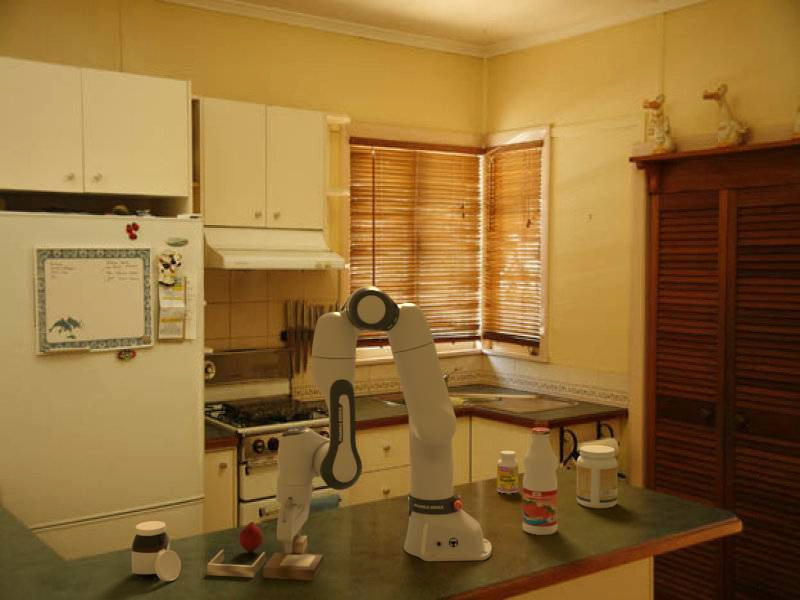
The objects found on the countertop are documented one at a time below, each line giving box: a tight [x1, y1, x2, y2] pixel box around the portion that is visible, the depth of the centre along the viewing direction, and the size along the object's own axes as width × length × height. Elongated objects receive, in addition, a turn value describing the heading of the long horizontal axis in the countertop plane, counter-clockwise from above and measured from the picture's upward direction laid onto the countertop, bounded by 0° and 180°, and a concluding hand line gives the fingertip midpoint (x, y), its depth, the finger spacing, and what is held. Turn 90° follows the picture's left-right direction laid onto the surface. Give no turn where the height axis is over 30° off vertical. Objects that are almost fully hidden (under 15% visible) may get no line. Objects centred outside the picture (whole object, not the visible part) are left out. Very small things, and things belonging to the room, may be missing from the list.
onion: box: [238, 520, 264, 553], centre depth 214 cm, size 6×6×8 cm
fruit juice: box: [522, 427, 559, 536], centre depth 232 cm, size 9×9×28 cm
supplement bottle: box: [496, 450, 519, 494], centre depth 270 cm, size 7×7×13 cm
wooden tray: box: [206, 549, 324, 582], centre depth 202 cm, size 26×10×3 cm, turn 82°
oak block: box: [282, 534, 308, 554], centre depth 210 cm, size 5×5×5 cm
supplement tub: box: [576, 444, 619, 509], centre depth 257 cm, size 12×12×17 cm
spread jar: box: [131, 520, 182, 582], centre depth 198 cm, size 12×11×12 cm
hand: (292, 547), depth 211 cm, fingers open, 6 cm apart
